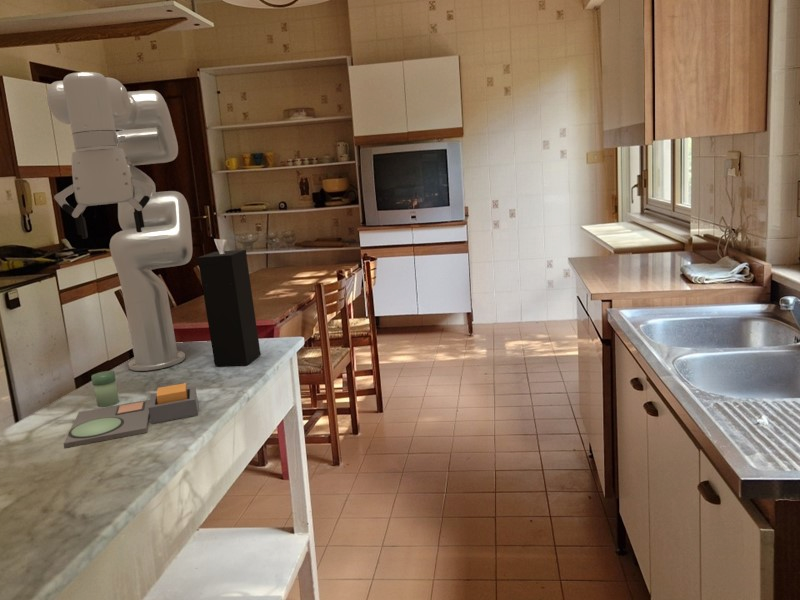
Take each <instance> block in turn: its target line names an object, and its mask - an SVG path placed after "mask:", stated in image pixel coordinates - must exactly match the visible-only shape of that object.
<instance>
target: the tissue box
mask: <svg viewBox="0 0 800 600" xmlns="http://www.w3.org/2000/svg"><path fill="white" fill-rule="evenodd" d="M213 240H214V243H215V246H216V249H217V251H213V252H210V253H207V254H204V255H201V256H198V257H197V264H198V267H199V274H200V281H201V285H202V292H203V293H202V294H203V299H204V306H205V311H206V312H205V313H206V318H207V324H208V331H209V336H210V337H209V338H210V344H211V349H212V356H213V362H214V366H215V367H225V366H227V367H230V366H231V367H232V366H247V365H248V366H249V365H250V364H251V363H252V362H254V361H255V360H256V359H258V358H259V357H260V356H261V348H260V342H259V333H258V326H257V320H256V319H257V318H256V311H255V306H254V300H253V293H252V292H253V291H252V285H251V278H250V273H249V272H250V270H249V264H248V259H247V258H248V255H247V249H238V250H236V249H235V250H226V246H227V243H228V239H223V238H218V239H217V238H214V239H213Z"/></svg>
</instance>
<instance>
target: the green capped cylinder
mask: <svg viewBox="0 0 800 600" xmlns="http://www.w3.org/2000/svg"><path fill="white" fill-rule="evenodd" d="M91 383H92V385H93V391H94V396H95V399H96V405H97V407H98V408H105V407H110V406H116V405H118V404H119V402H120V398H119V393H118V386H117V382H116V374H115V371H113V370H105V371H104V370H103V371H99V372H96V373H94V374H91Z"/></svg>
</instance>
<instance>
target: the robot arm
mask: <svg viewBox="0 0 800 600" xmlns="http://www.w3.org/2000/svg"><path fill="white" fill-rule="evenodd" d="M47 88H48V89H47V91H46V101H47V105H48V109H49V110H50V112H51V115H52V116H53V117H54V118H55V119H56V120H57V121H58V122H60V123H62V124H66V125H70V129H71V136H72V140H73V146H74V151H72V152H71V174H72V184H71V185H69V186H67V187H65V188H64V189H63V190H62V191H60V192H58V193H56V194H55V195H54V197H53V198H54V200H55V201H56V203H58V205H59V206H60V207H61V209H62V210H63V211H65V212H66V213H67V214H69V215H70V216H72V217H73V218H74V222H75V227H76V232H77V235H78V236H79V235H80V236H81V239H82V240H86V239H87V238H89V235H88V234H89V232H88V227H87V223H86V222H87V221H86V218H85V216H84V215H83V213H84V211H85V210H86V208H87V207H90V206H91V207H92V206H93V207H94V206H98V205H99V206H101V205H109V204H110V205H111V204H117V219H118V224H119V226H120V228H121V230H120V231H118V232H116V233H115V234H113V235H112V236H111V238H110V240H109V241H110V242H109V252H110V255H111V258H112V261H113V264H114V267H115V269H116V272H117V275H118V276H117V277H118V278H119V282H120V283H119V284H120V288H121V292H122V297H123V302H124V307H125V312H126V313H125V314H126V318H127V325H128V329H129V336H130V340H131V346H132V352H133V356H134V358H133V359H131V360H129V362H128V369H130V370H131V371H135V372H144V371H146V372H149V371H154V370H155V371H156V370H160V369H165V368H168V367H172V366H175V365H177V364H179V363H182V362H184V360H185V359H186V353H185V352H183V351H181V350H178V349H177V342H176V336H175V335H176V334H175V330H174V324H173V323H174V322H173V318H172V313H171V305H170V301H169V295H168V290H167V289H168V288H167V286H166V284H165V283H164V281H163V280H162V279H161V278H160V277H159V276H158V275H157V274H155V273H154V272H153V271H152V270H157V269H162V268H163V269H164V268H171V267H178V266H183V265H186V264H188V263H189V262H190V261H191V259H192V257H193V237H192V225H191V224H192V223H191V215H190V208H189V204H188V201H187V199H186V198H185V196H184V194H182V193H181V192H179V191H176V190H168V191H167V190H166V191H156V190H157V189H156V183H155V182H154V181H153V179H152V178H151V177H150V176H149V175H147V174H146V173H145V172H143V171H142V170H141V169H139V168H137V167H136V166H141V165H143V166H144V165H151V164H153V165H154V164H165V163H169V162H172V161H174V160H175V159H176V158H177V157H178V155H179V145H178V140H177V135H176V132H175V129H174V126H173V125H174V124H173V122H172V117H171V114H170V110H169V108H168V104H167V102H166V101H165V99H164V97H163V96H162V94H161V93H160V92H158V91H157V90H154V89H147V90H146V89H145V90H136V91H135V90H133V91H127V88H126V87H125V86H124V85H123V83H121V82H120V81H119V80H118V79H116V78H113V77H105V76H104V75H103V74H102V73H99V72H95V71H94V72H92V71H77V72H72V73H68V74H67V75H65V76H64V77H63V80H56V81H53V82H52V83H51V84H49V86H48V87H47ZM73 193H74V198H75V201H76V203H77V204H76V207H73V206H72V205H71V204H69V203H68V202H67V200H66V198H67V197H68V196H70V195H72V194H73Z"/></svg>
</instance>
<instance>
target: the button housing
mask: <svg viewBox="0 0 800 600" xmlns="http://www.w3.org/2000/svg"><path fill="white" fill-rule="evenodd" d="M187 393H188V399H185V400H180V401H174V402H169V403H163V404H158V402H157V397H156V396H157V392H156V393H151V394H150V397H149V400H150V402H149V407H148V409H149V414H150V418H149V421H150V423H151V425H152V424H157V423H158V424H159V423H163V422H169V420H170V421H175V420H180V419H186V418H190V416H191V417H196V416H199V399H198V393H197V389H196V386H192V387H187ZM185 417H186V418H185ZM179 418H180V419H179ZM174 419H175V420H174Z"/></svg>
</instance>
